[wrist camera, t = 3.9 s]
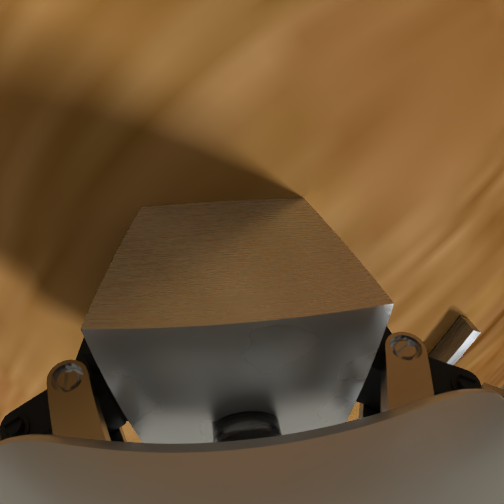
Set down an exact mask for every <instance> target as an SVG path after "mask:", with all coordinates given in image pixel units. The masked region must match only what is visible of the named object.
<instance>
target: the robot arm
mask: <svg viewBox="0 0 504 504" xmlns="http://www.w3.org/2000/svg"><path fill="white" fill-rule="evenodd" d="M356 401H357V402H360V408H359V419H357V420H353V421H349V422H345V423H341V424H337V425H332V426H328V427H323V428H318V429H313V430H308V431H303V432H298V433H292V434H286V435H279V436H272V437H265V438H257V439H248V440H238V441H227V442H211V443H184V444H159V443H133V442H127V440H126V438H125V435H124V432H123V430H122V427H121V426H123V425H124V424H125V423H126V421H128V419H127V417H126V416H125V414H124V413H123V411H122V409H121V407H120V406H119V404H118V402H117V401H116V399H115V397H114V395H113V394H112V392H111V390H110V388H109V386H108V384H107V383H106V381H105V379H104V377H103V375H102V373H101V371H100V369H99V367H98V365H97V363H96V361H95V359H94V357H93V355H92V353H91V351H90V349H89V346H88V344H87V342H86V340H85V338H84V339H83V342H82V344H81V347H80V350H79V352H78V355H77V358H76V360H65V361H62V362H60V363H58V364H57V365H55V366H54V367H53V368H52V369H51V371H50V372H49V374H48V376H47V390H45V391H44V392H42V393H40V394H39V395H37V396H36V397H34V398H32V399H31V400H29V401H28V402H26V403H24V404H23V405H21V406H20V407H18V408H16V409H15V410H13V411H12V412H10V413H9V414H8V415H6V416H5V418H4V419H3V420H2V423H1V425H0V504H504V389H501V388H498V387H495V386H492V385H490V384H487V383H483V384H482V385H481V384H480V381H479V380H478V378H477V377H476V376H475V375H474V374H473V373H471V372H469V371H467V370H465V369H462V368H459V367H456V366H453V365H451V364H448V363H445V362H442V361H440V360H437V359H434V358H431V357H429V356H428V355H427V350H426V347H425V344H424V343H423V342H422V340H421V339H419V338H418V337H417V336H415V335H413V334H411V333H406V332H396V333H393V334H392V333H391V332H390V330H389V329H388V327H387V326H386V329H385V331H384V334H383V337H382V340H381V342H380V345H379V348H378V350H377V353H376V355H375V358H374V360H373V363H372V365H371V368H370V370H369V373H368V375H367V377H366V380H365V382H364V384H363V387H362V389H361V391H360V393H359V396H358V398H357V400H356Z"/></svg>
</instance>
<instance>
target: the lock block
mask: <svg viewBox="0 0 504 504" xmlns="http://www.w3.org/2000/svg"><path fill="white" fill-rule="evenodd" d="M393 305H394V303H393V302H392V300H391V299H390V298H389V296H388V295H387V294H386V293H385V291H384V290H383V289H382V288H381V286H380V285H379V284H378V283H377V282H376V280H375V279H374V278H373V277H372V275H371V274H370V273H369V272H368V271H367V269H366V268H365V267H364V266H363V265H362V263H361V262H360V261H359V260H358V259H357V257H356V256H355V255H354V254H353V253H352V252H351V250H350V249H349V248H348V247H347V246H346V245H345V243H344V242H343V241H342V240H341V239H340V238H339V237H338V235H337V234H336V233H335V232H334V231H333V230H332V229H331V227H330V226H329V225H328V224H327V223H326V222H325V221H324V220H323V219H322V217H321V216H320V215H319V214H318V213H317V212H316V211H315V210H314V209H313V208H312V206H311V205H310V204H309V203H308V202H307V201H306V200H305V199H304V198H284V199H255V200H233V201H215V202H199V203H184V204H171V205H158V206H147V207H141V208H140V210H139V211H138V213H137V215H136V217H135V218H134V220H133V222H132V224H131V226H130V227H129V229H128V231H127V233H126V235H125V237H124V238H123V240H122V242H121V244H120V246H119V248H118V250H117V252H116V254H115V256H114V258H113V260H112V262H111V263H110V265H109V268H108V270H107V272H106V274H105V276H104V278H103V280H102V282H101V284H100V286H99V288H98V290H97V293H96V295H95V297H94V299H93V301H92V304H91V306H90V308H89V310H88V313H87V315H86V317H85V320H84V322H83V324H82V327H81V331H82V333H83V335H84V338H85V340H86V342H87V344H88V346H89V349H90V351H91V353H92V355H93V357H94V359H95V361H96V363H97V365H98V367H99V369H100V371H101V373H102V375H103V377H104V379H105V381H106V383H107V384H108V386H109V388H110V390H111V392H112V394H113V395H114V397H115V399H116V401H117V402H118V404H119V406H120V407H121V409H122V411H123V413H124V414H125V416H126V417H127V419H128V421H129V422H130V424H131V425H132V427H133V429H134V430H135V432H136V433H137V435H138V436H139V438H140V439H141V441H142V442H143V443H159V444H184V443H211V442H227V441H238V440H248V439H257V438H265V437H272V436H279V435H286V434H292V433H298V432H303V431H308V430H313V429H318V428H323V427H328V426H332V425H337V424H341V423H345V422H346V421H347V419H348V417H349V415H350V413H351V411H352V408H353V406H354V404H355V402H356V400H357V398H358V396H359V393H360V391H361V389H362V387H363V384H364V382H365V380H366V377H367V375H368V373H369V370H370V368H371V365H372V363H373V360H374V358H375V355H376V353H377V350H378V348H379V345H380V342H381V340H382V337H383V334H384V331H385V329H386V326H387V323H388V320H389V317H390V314H391V311H392V308H393Z"/></svg>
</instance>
